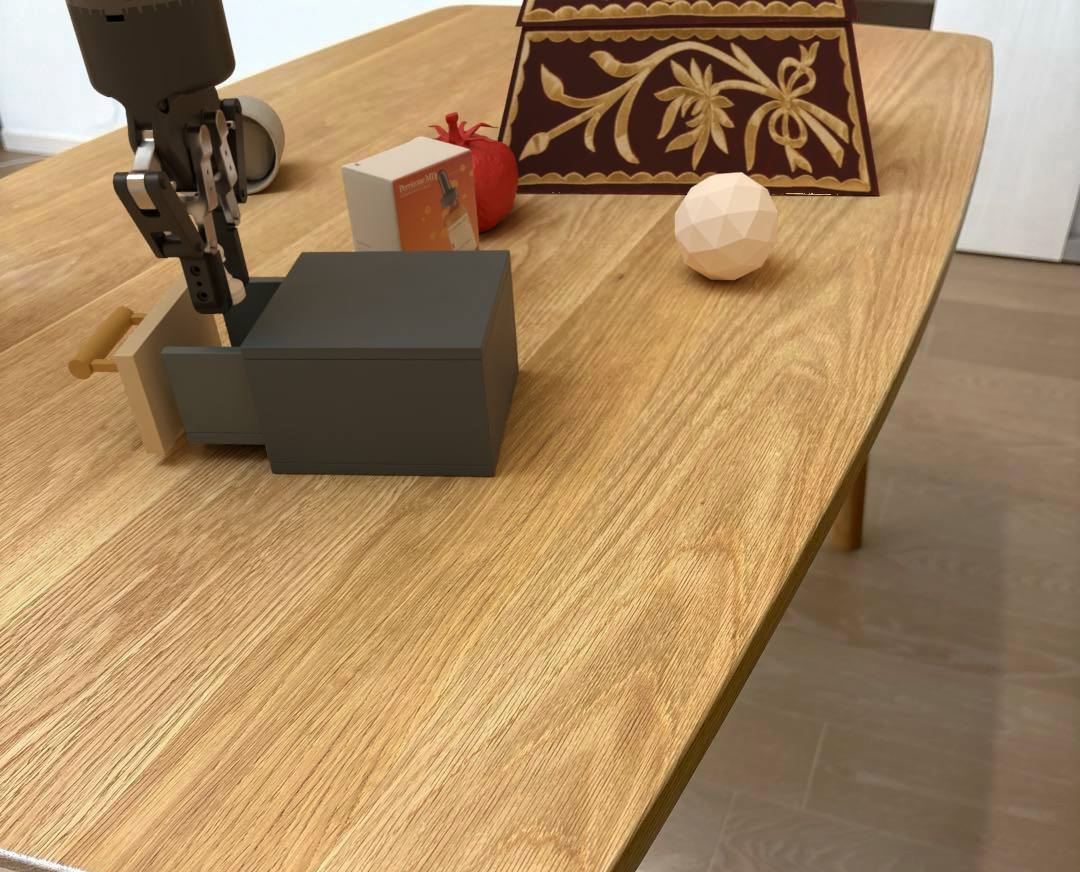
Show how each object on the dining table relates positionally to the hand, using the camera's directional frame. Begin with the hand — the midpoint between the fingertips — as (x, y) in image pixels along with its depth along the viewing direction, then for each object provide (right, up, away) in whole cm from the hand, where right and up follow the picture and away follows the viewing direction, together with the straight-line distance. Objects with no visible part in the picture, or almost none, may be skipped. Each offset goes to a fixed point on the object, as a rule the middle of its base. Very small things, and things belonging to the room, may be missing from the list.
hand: (223, 298), depth 65 cm
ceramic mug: (-10, +20, +39) cm, 45 cm away
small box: (+10, +4, +18) cm, 21 cm away
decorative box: (+33, +22, +38) cm, 55 cm away
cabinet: (+10, -7, +4) cm, 13 cm away
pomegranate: (+13, +13, +29) cm, 34 cm away
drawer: (0, -6, +5) cm, 8 cm away
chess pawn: (0, 0, 0) cm, 0 cm away
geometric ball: (+33, +6, +18) cm, 38 cm away
